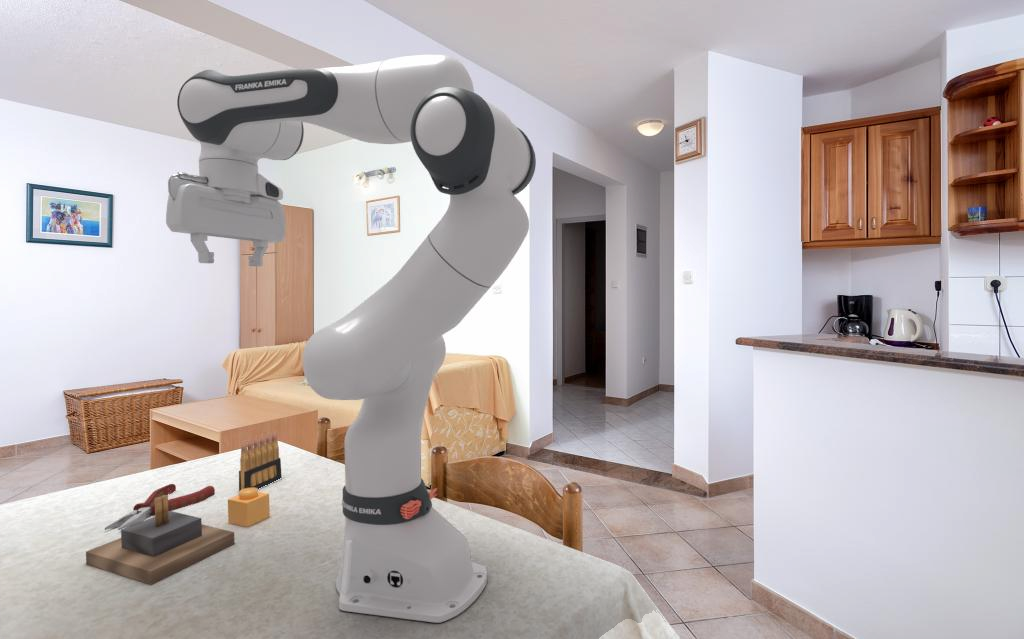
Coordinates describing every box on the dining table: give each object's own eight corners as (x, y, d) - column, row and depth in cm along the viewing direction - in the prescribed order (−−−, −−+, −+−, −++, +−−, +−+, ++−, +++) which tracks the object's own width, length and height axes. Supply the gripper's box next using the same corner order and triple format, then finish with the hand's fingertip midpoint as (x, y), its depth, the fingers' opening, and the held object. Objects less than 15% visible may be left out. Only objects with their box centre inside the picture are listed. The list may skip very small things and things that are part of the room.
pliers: (84, 533, 95) (83, 519, 95) (170, 493, 115) (170, 481, 115) (139, 537, 94) (139, 523, 94) (217, 495, 114) (217, 484, 113)
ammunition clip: (245, 495, 112) (243, 440, 112) (238, 494, 113) (236, 439, 112) (281, 479, 122) (280, 428, 122) (275, 478, 123) (274, 427, 122)
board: (234, 543, 90) (232, 489, 89) (150, 584, 77) (148, 521, 77) (173, 528, 96) (171, 477, 96) (86, 563, 83) (83, 505, 83)
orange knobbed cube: (269, 516, 101) (268, 487, 101) (247, 527, 96) (246, 496, 96) (251, 512, 103) (250, 484, 103) (228, 522, 98) (227, 493, 98)
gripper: (182, 166, 77) (185, 260, 78) (290, 192, 96) (292, 267, 97) (154, 171, 80) (158, 261, 80) (265, 195, 99) (267, 268, 99)
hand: (232, 264), depth 89 cm, fingers open, 8 cm apart
